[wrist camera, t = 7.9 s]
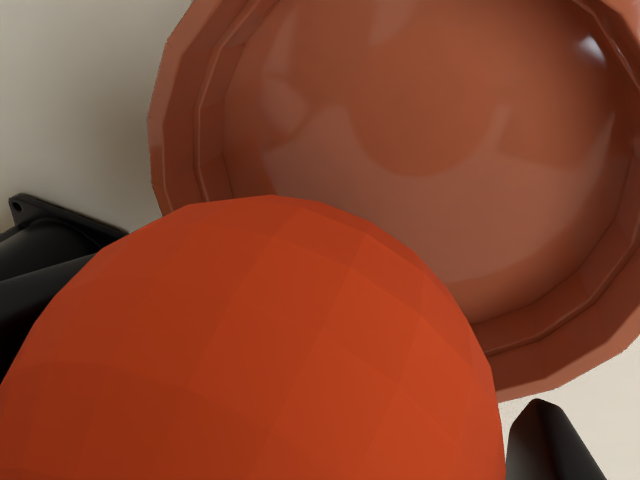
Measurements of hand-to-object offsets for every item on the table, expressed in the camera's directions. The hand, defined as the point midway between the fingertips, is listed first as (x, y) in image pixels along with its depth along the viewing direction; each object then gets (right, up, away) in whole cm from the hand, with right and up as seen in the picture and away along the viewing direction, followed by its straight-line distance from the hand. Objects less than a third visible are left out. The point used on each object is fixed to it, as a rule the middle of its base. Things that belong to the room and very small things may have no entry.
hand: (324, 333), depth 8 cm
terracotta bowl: (+2, +4, +6) cm, 8 cm away
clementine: (+1, +1, +1) cm, 2 cm away
